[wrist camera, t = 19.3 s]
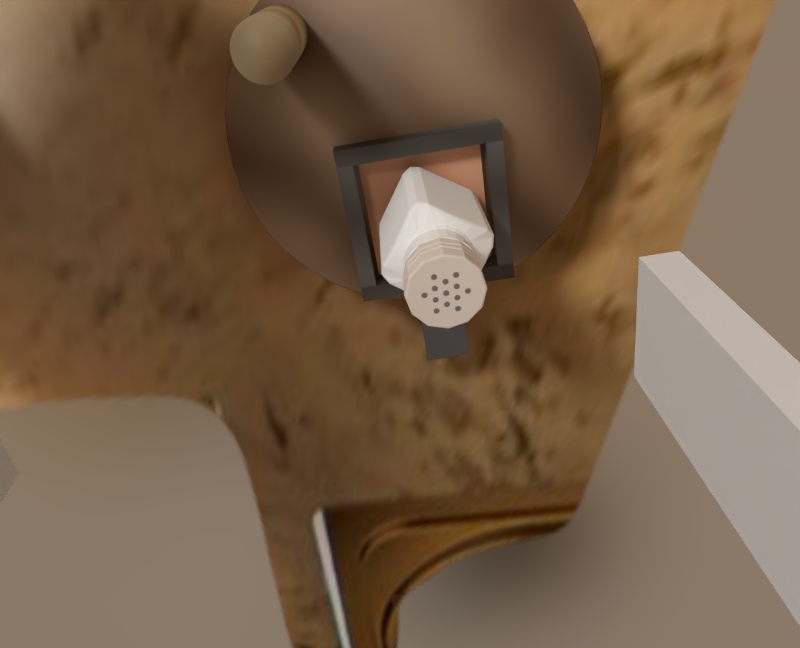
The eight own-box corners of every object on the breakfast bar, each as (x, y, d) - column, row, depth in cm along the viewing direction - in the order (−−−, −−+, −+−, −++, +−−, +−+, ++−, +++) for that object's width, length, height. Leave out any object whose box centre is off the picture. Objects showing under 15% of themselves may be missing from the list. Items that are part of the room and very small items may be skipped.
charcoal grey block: (423, 334, 41) (428, 360, 39) (416, 291, 40) (420, 315, 37) (462, 328, 41) (469, 353, 39) (456, 284, 40) (463, 308, 37)
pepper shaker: (444, 258, 35) (468, 351, 27) (374, 229, 34) (377, 317, 26) (479, 191, 34) (516, 268, 25) (407, 158, 33) (421, 228, 24)
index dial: (444, 337, 40) (460, 418, 33) (168, 165, 35) (118, 218, 28) (664, 80, 34) (742, 113, 27) (368, -185, 28) (368, -231, 21)
